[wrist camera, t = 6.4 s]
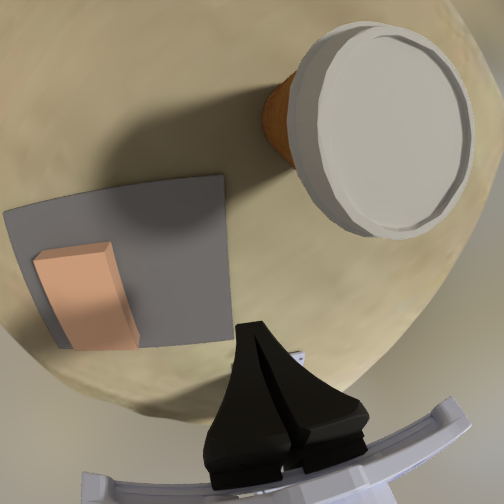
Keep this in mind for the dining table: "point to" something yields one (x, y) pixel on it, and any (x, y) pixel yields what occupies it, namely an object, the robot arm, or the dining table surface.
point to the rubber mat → (142, 253)
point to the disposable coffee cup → (375, 129)
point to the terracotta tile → (88, 296)
